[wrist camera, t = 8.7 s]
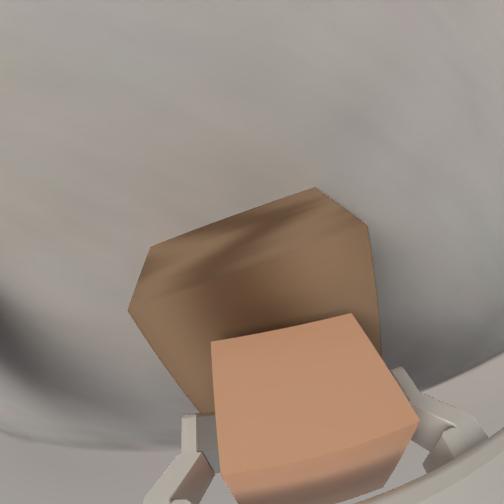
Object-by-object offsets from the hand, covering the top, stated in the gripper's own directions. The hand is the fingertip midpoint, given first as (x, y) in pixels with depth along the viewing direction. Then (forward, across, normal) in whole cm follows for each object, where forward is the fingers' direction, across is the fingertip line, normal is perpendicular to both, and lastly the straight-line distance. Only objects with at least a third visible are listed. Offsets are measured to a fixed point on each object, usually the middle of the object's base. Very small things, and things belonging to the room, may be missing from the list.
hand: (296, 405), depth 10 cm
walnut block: (+9, 0, 0) cm, 9 cm away
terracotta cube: (+2, 0, 0) cm, 2 cm away
